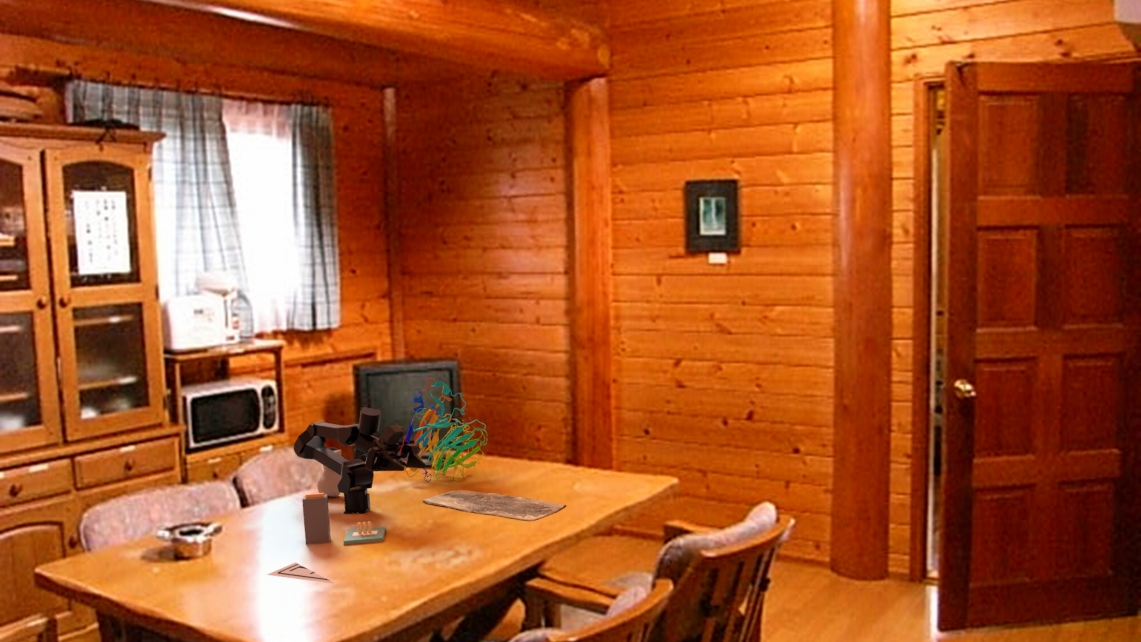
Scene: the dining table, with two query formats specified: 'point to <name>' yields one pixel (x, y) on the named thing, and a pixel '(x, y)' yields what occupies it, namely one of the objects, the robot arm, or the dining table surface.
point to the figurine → (329, 480)
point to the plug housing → (316, 518)
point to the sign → (299, 573)
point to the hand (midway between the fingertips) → (414, 467)
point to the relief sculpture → (495, 504)
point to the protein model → (435, 440)
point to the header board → (365, 534)
